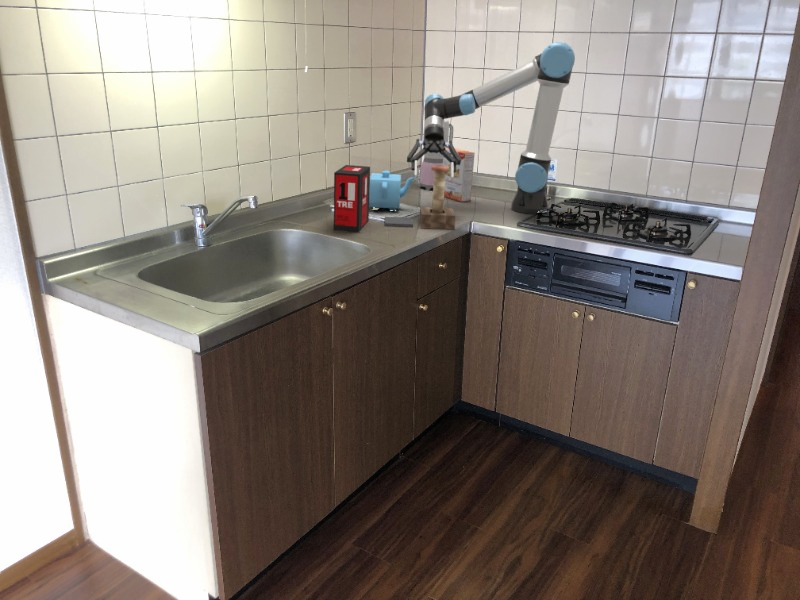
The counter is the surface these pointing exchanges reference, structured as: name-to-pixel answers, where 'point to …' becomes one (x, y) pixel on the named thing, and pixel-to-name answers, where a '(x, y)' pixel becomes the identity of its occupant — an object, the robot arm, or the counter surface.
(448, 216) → the eye block
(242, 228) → the counter surface
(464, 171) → the cracker box
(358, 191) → the cleaning product box
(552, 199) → the counter surface
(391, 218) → the rubber mat
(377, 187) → the teakettle
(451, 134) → the blender
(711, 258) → the counter surface
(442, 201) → the wheel peg
